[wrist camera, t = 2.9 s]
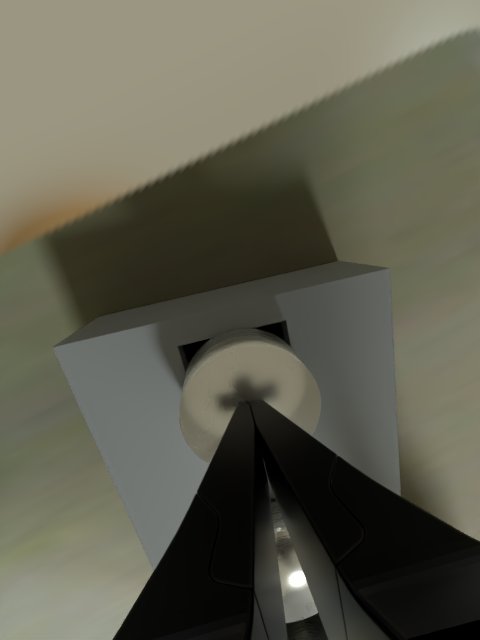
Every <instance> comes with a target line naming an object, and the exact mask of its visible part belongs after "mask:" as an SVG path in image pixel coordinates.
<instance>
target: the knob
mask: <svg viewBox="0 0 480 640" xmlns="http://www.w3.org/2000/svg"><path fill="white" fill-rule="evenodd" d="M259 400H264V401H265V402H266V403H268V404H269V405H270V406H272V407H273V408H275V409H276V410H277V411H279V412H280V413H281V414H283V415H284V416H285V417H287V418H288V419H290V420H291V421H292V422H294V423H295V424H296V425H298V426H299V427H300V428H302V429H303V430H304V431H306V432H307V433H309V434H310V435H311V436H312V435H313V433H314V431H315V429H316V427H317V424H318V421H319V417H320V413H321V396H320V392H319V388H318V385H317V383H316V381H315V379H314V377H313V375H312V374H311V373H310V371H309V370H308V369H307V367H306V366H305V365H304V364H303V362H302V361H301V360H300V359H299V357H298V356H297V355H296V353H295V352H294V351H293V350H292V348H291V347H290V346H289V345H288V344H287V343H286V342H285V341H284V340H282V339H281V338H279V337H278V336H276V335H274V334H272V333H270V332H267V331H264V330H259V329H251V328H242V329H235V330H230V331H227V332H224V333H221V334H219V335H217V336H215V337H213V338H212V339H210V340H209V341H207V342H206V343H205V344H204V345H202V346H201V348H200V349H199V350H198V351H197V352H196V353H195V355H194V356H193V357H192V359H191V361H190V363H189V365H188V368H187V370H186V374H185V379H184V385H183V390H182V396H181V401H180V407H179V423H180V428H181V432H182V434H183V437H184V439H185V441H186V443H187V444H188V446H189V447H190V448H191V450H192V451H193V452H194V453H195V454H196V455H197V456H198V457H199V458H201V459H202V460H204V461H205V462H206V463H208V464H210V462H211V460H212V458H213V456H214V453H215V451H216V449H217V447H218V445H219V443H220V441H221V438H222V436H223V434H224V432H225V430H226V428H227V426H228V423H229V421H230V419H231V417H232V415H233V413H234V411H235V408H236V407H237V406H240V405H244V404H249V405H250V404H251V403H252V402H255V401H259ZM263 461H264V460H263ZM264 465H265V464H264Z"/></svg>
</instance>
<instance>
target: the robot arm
mask: <svg viewBox="0 0 480 640" xmlns="http://www.w3.org/2000/svg"><path fill="white" fill-rule="evenodd" d="M263 460H264V461H263ZM264 464H265V465H264ZM266 472H267V474H266ZM267 476H268V478H267ZM268 480H269V483H270V486H271V488H272V491H273V494H274V496H275V499H276V502H277V504H278V507H279V510H280V512H281V515H282V518H283V520H284V523H285V526H286V528H287V531H288V534H289V536H290V539H291V542H292V544H293V547H294V549H295V552H296V555H297V557H298V560H299V563H300V565H301V568H302V571H303V573H304V576H305V579H306V581H307V584H308V587H309V589H310V592H311V595H312V597H313V600H314V603H315V605H316V608H317V610H318V613H319V616H320V618H321V621H322V624H323V626H324V629H325V632H326V634H327V637H328V640H480V541H478V540H476V539H474V538H472V537H470V536H468V535H466V534H464V533H463V532H461V531H459V530H457V529H455V528H454V527H452V526H450V525H449V524H447V523H445V522H444V521H442V520H440V519H438V518H437V517H435V516H433V515H432V514H430V513H428V512H427V511H425V510H423V509H421V508H420V507H418V506H416V505H415V504H413V503H411V502H410V501H408V500H406V499H404V498H403V497H401V496H399V495H398V494H396V493H394V492H393V491H391V490H389V489H388V488H386V487H384V486H383V485H381V484H380V483H378V482H376V481H375V480H373V479H372V478H370V477H368V476H367V475H365V474H364V473H363V472H361V471H360V470H358V469H357V468H355V467H354V466H352V465H351V464H350V463H348V462H347V461H346V460H344V459H343V458H341V457H340V456H337V454H336V453H334V452H333V451H332V450H330V449H329V448H328V447H326V446H325V445H324V444H322V443H321V442H319V441H318V440H317V439H315V438H314V437H313V436H311V435H310V434H309V433H307V432H306V431H304V430H303V429H302V428H300V427H299V426H298V425H296V424H295V423H294V422H292V421H291V420H290V419H288V418H287V417H285V416H284V415H283V414H281V413H280V412H279V411H277V410H276V409H275V408H273V407H272V406H270V405H269V404H268V403H266V402H265V401H264V400H259V401H255V402H252V403H251V404H250V405H249V404H244V405H240V406H237V407H236V408H235V411H234V413H233V415H232V417H231V419H230V421H229V423H228V426H227V428H226V430H225V432H224V434H223V436H222V438H221V441H220V443H219V445H218V447H217V449H216V451H215V453H214V456H213V458H212V460H211V462H210V464H209V466H208V468H207V470H206V473H205V475H204V477H203V479H202V481H201V483H200V485H199V488H198V490H197V494H195V496H194V498H193V500H192V502H191V504H190V507H189V509H188V511H187V513H186V515H185V517H184V518H183V520H182V522H181V524H180V526H179V528H178V530H177V532H176V534H175V536H174V537H173V539H172V541H171V543H170V544H169V546H168V548H167V550H166V551H165V553H164V555H163V557H162V558H161V560H160V562H159V563H158V565H157V567H156V568H155V570H154V572H153V573H152V575H151V577H150V578H149V580H148V582H147V583H146V585H145V587H144V588H143V590H142V592H141V593H140V595H139V597H138V599H137V600H136V602H135V604H134V605H133V607H132V609H131V610H130V612H129V614H128V615H127V617H126V619H125V620H124V622H123V624H122V625H121V627H120V629H119V630H118V632H117V633H116V635H115V636H114V638H113V640H288V638H287V630H286V622H285V613H284V605H283V597H282V589H281V581H280V573H279V564H278V556H277V548H276V540H275V532H274V524H273V516H272V507H271V499H270V491H269V484H268Z"/></svg>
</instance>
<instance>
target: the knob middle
mask: <svg viewBox="0 0 480 640" xmlns="http://www.w3.org/2000/svg"><path fill="white" fill-rule="evenodd" d="M271 507H272V516H273V524H274V532H275V540H276V548H277V556H278V564H279V573H280V581H281V589H282V597H283V605H284V613H285V622H286V623H290V622H295V621H299V620H303V619H306V618H308V617H310V616H313V615H315V614H317V613H318V610H317V608H316V605H315V603H314V600H313V597H312V595H311V592H310V589H309V587H308V584H307V581H306V579H305V576H304V573H303V571H302V568H301V565H300V563H299V560H298V557H297V555H296V552H295V549H294V547H293V544H292V542H291V539H290V536H289V534H288V531H287V528H286V526H285V523H284V520H283V518H282V515H281V512H280V510H279V507H278V504H277V502H276V499H275V498H274V499H271Z"/></svg>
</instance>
